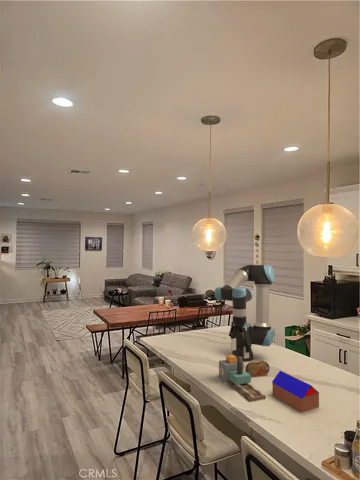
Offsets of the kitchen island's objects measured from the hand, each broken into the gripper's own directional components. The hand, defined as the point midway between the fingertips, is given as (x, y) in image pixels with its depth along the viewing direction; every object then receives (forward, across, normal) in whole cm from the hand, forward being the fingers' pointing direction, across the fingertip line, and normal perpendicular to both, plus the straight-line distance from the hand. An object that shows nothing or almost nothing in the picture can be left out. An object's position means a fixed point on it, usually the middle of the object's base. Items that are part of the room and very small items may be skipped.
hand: (239, 353), depth 175 cm
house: (+18, +25, +17) cm, 35 cm away
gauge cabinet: (+17, -9, -1) cm, 20 cm away
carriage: (+15, 0, 0) cm, 15 cm away
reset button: (+7, -9, 0) cm, 12 cm away
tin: (+18, -8, +16) cm, 26 cm away
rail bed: (+17, +7, 0) cm, 19 cm away
